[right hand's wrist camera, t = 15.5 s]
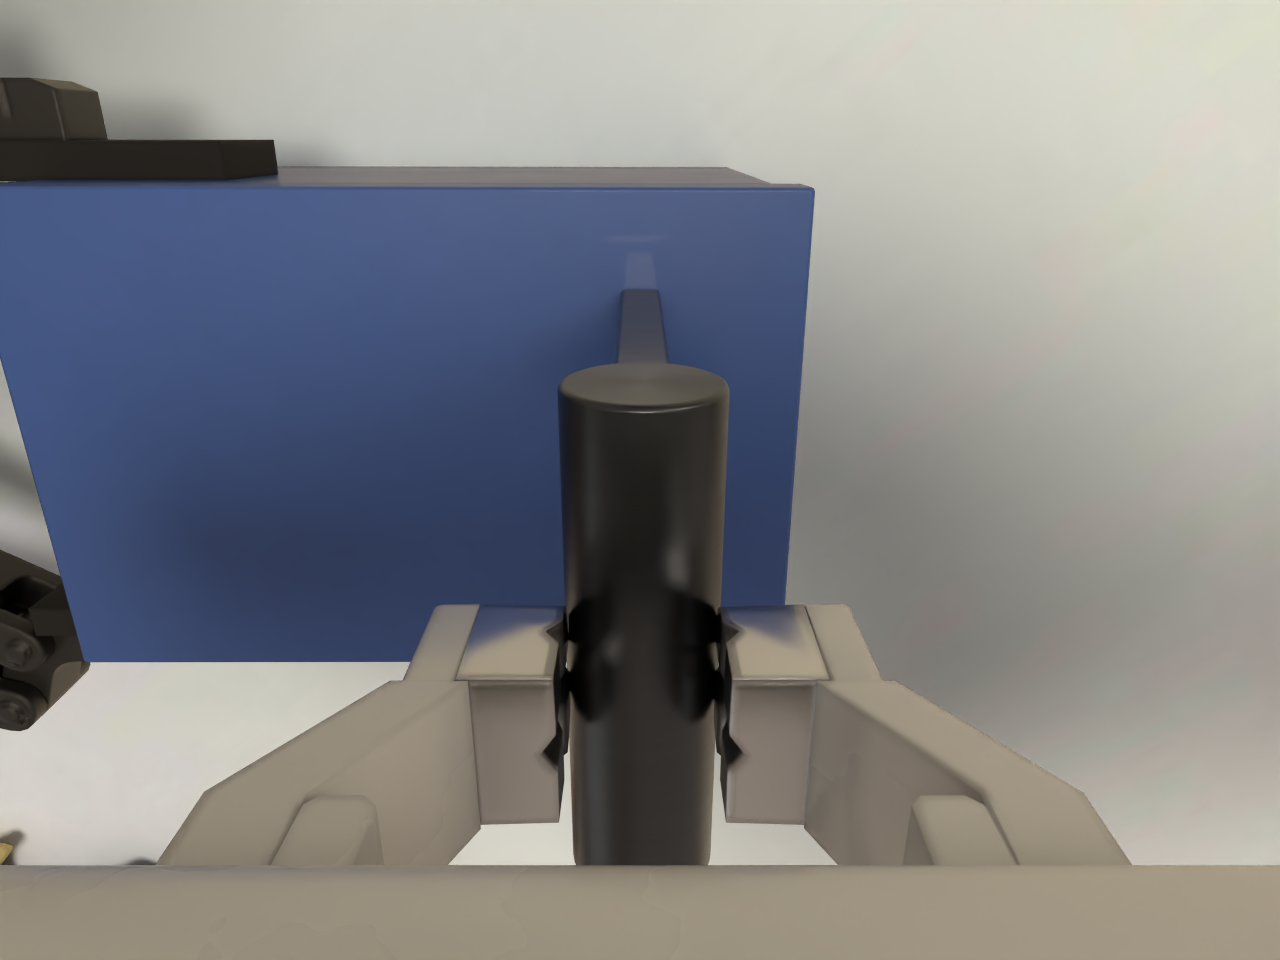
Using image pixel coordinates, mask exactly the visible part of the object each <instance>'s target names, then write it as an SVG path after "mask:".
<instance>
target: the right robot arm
mask: <svg viewBox="0 0 1280 960" xmlns="http://www.w3.org/2000/svg"><path fill="white" fill-rule="evenodd" d="M568 643H569V632H568V615H567V608H566V606H527V605H482V606H481V605H480V604H449V605H439V606H437V607H436V608H435V609H434V610H433V613H432V615H431V617H430V620H429V622H428V624H427V626H426V629H425V631H424V633H423V635H422V638H421V640H420V642H419V645H418V647H417V649H416V651H415V654H414V656H413V658H412V660H411V663H410V665H409V667H408V670H407V672H406V674H405V676H404V679H403V681H389V682H387V683H386V684H384V685H382V686H381V687H379V688H377V689H375V690H374V691H372V692H370V693H369V694H367V695H365V696H364V697H362V698H360V699H359V700H357V701H355V702H354V703H352V704H350V705H349V706H347V707H345V708H344V709H342V710H340V711H339V712H337V713H335V714H334V715H332V716H330V717H329V718H327V719H325V720H324V721H322V722H320V723H319V724H317V725H315V726H314V727H312V728H310V729H309V730H307V731H305V732H304V733H302V734H300V735H299V736H297V737H295V738H294V739H292V740H290V741H288V742H287V743H285V744H283V745H282V746H280V747H278V748H277V749H275V750H273V751H272V752H270V753H268V754H267V755H265V756H263V757H262V758H260V759H258V760H257V761H255V762H253V763H252V764H250V765H248V766H247V767H245V768H243V769H242V770H240V771H238V772H237V773H235V774H233V775H232V776H230V777H228V778H227V779H225V780H223V781H222V782H220V783H218V784H217V785H215V786H213V787H212V788H210V789H208V790H206V791H205V792H204V793H203V794H202V796H201V797H200V799H199V800H198V802H197V803H196V805H195V806H194V808H193V809H192V811H191V812H190V814H189V815H188V817H187V818H186V820H185V821H184V823H183V824H182V826H181V827H180V829H179V830H178V832H177V833H176V835H175V836H174V838H173V839H172V841H171V842H170V844H169V845H168V847H167V848H166V850H165V851H164V853H163V854H162V856H161V857H160V859H159V860H158V862H157V863H156V865H0V960H1280V865H1132V864H1131V863H1130V861H1129V860H1128V858H1127V857H1126V855H1125V854H1124V852H1123V851H1122V849H1121V848H1120V846H1119V845H1118V843H1117V842H1116V840H1115V839H1114V837H1113V836H1112V835H1111V833H1110V832H1109V830H1108V829H1107V827H1106V826H1105V824H1104V823H1103V821H1102V820H1101V818H1100V817H1099V815H1098V814H1097V812H1096V811H1095V809H1094V808H1093V806H1092V805H1091V803H1090V802H1089V800H1088V799H1087V797H1086V796H1085V794H1084V793H1083V792H1081V791H1079V790H1078V789H1076V788H1074V787H1073V786H1071V785H1069V784H1068V783H1066V782H1064V781H1062V780H1061V779H1059V778H1057V777H1056V776H1054V775H1052V774H1051V773H1049V772H1047V771H1046V770H1044V769H1042V768H1041V767H1039V766H1037V765H1036V764H1034V763H1032V762H1031V761H1029V760H1027V759H1026V758H1024V757H1022V756H1021V755H1019V754H1017V753H1016V752H1014V751H1012V750H1010V749H1009V748H1007V747H1005V746H1004V745H1002V744H1000V743H999V742H997V741H995V740H994V739H992V738H990V737H989V736H987V735H985V734H984V733H982V732H980V731H979V730H977V729H975V728H974V727H972V726H970V725H969V724H967V723H965V722H964V721H962V720H960V719H958V718H957V717H955V716H953V715H952V714H950V713H948V712H947V711H945V710H943V709H942V708H940V707H938V706H937V705H935V704H933V703H932V702H930V701H928V700H927V699H925V698H923V697H922V696H920V695H918V694H917V693H915V692H913V691H912V690H910V689H908V688H906V687H905V686H903V685H901V684H900V683H898V682H896V681H883V680H882V678H881V676H880V674H879V672H878V669H877V667H876V665H875V663H874V661H873V659H872V656H871V654H870V652H869V650H868V648H867V645H866V643H865V641H864V639H863V637H862V634H861V632H860V630H859V628H858V626H857V623H856V621H855V619H854V617H853V615H852V612H851V610H850V608H849V607H848V606H847V605H845V604H823V605H773V606H731V607H719V608H718V609H717V622H716V648H717V655H718V663H719V667H718V668H717V669H716V671H715V674H714V728H715V740H716V749H717V753H718V754H720V755H721V772H720V781H721V789H722V796H723V803H724V810H725V818H726V823H761V824H798V825H804V828H805V830H806V831H807V832H808V833H809V834H810V835H811V836H812V837H813V838H814V839H815V840H816V841H817V843H818V844H819V845H820V846H821V847H822V848H823V849H824V850H825V851H826V852H827V853H828V854H829V856H830V857H831V858H832V859H833V860H834V861H835V862H836V863H837V864H838V865H448V864H449V863H450V862H451V861H452V859H453V858H454V857H455V856H456V855H457V854H458V853H459V852H460V851H461V850H462V849H463V847H464V846H465V845H466V844H467V843H468V842H469V841H470V840H471V839H472V838H473V837H474V836H475V834H476V833H477V832H478V831H479V830H480V829H481V828H480V825H486V824H522V823H558V822H559V817H560V809H561V801H562V793H563V785H564V755H565V754H566V753H567V752H568V742H569V730H570V711H571V690H570V672H569V670H568V669H567V668H566V667H565V666H566V659H567V651H568Z"/></svg>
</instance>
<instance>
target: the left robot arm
mask: <svg viewBox="0 0 1280 960" xmlns="http://www.w3.org/2000/svg"><path fill="white" fill-rule="evenodd" d="M277 174H278V168H277V161H276V154H275V147H274V140H108V139H107V134H106V129H105V125H104V120H103V115H102V111H101V106H100V101H99V96H98V92H96V91H94V90H91V89H89V88H86V87H84V86H81V85H79V84H76V83H74V82H68V81H58V80H47V79H36V78H0V181H29V180H232V179H241V178H250V177H259V176H268V175H277ZM89 667H90V662H85V661H84V658H83V654H82V651H81V647H80V643H79V640H78V636H77V633H76V629H75V625H74V622H73V618H72V614H71V611H70V607H69V604H68V600H67V596H66V593H65V589H64V586H63V582H62V578H61V576H59V575H56V574H54V573H52V572H49V571H47V570H45V569H43V568H40V567H38V566H36V565H34V564H31V563H29V562H27V561H24V560H22V559H20V558H18V557H15V556H13V555H11V554H9V553H6V552H4V551H2V550H0V728H2V729H6V730H11V731H22V730H25V729H28V728H29V727H30V726H32V725H33V724H34V723H35V722H36V721H37V720H38V719H39V718H40V717H41V716H42V715H43V714H44V713H45V712H46V711H47V710H48V709H49V708H51V707H52V706H53V705H54V704H55V703H56V702H57V701H58V700H59V699H60V698H61V697H62V696H63V695H64V694H65V693H66V692H67V691H68V690H69V689H70V688H71V687H72V686H73V685H74V684H75V683H76V682H77V681H78V680H79V679H80V678H81V677H82V676H83V675H84V674H85V673H86V672H87V671H88V670H89Z"/></svg>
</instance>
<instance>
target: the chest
mask: <svg viewBox="0 0 1280 960" xmlns="http://www.w3.org/2000/svg"><path fill="white" fill-rule="evenodd" d="M277 168H278V174H277V175H268V176H259V177H250V178H241V179H232V180H29V181H15V182H8V183H563V184H770V183H768V182H765V181H762V180H759V179H757V178H754V177H751V176H749V175H746V174H743V173H740V172H738V171H735V170H732V169H729V168H727V167H277Z"/></svg>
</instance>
